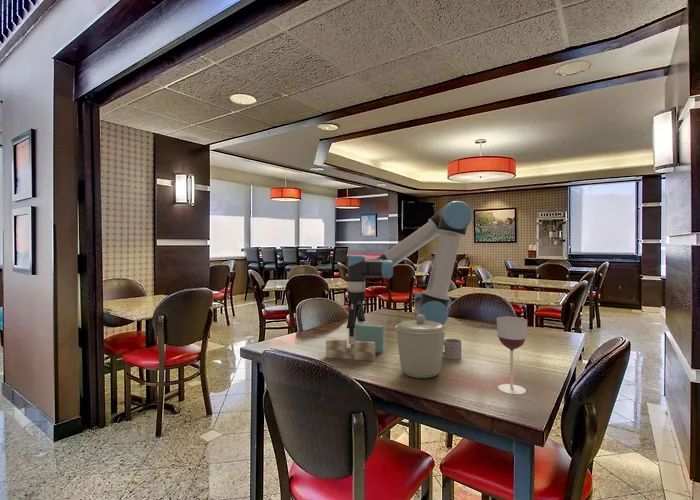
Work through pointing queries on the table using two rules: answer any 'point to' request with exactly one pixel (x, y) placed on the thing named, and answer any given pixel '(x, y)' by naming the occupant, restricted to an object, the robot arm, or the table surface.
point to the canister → (420, 346)
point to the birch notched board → (350, 350)
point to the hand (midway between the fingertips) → (356, 339)
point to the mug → (452, 349)
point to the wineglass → (511, 345)
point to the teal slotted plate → (370, 335)
